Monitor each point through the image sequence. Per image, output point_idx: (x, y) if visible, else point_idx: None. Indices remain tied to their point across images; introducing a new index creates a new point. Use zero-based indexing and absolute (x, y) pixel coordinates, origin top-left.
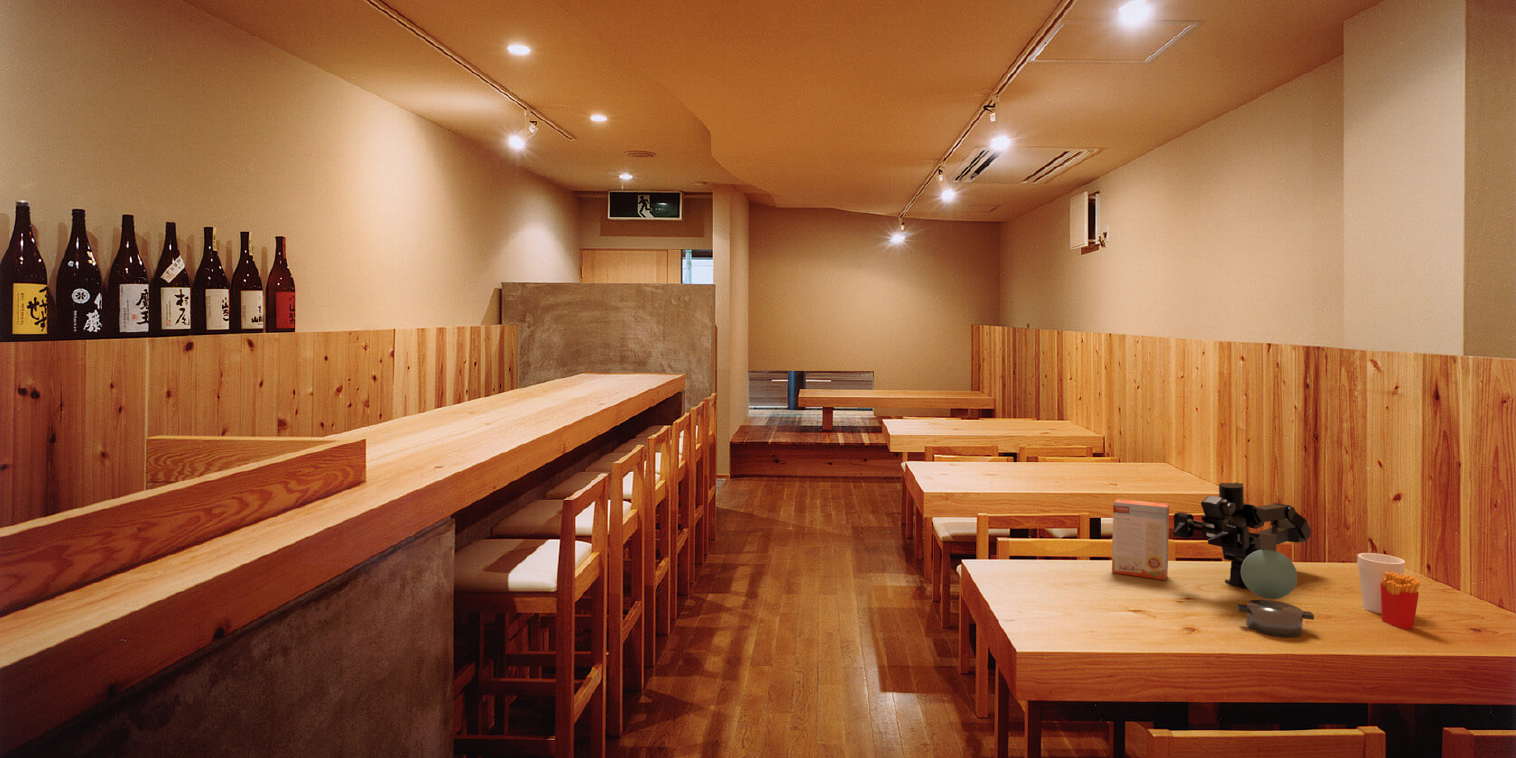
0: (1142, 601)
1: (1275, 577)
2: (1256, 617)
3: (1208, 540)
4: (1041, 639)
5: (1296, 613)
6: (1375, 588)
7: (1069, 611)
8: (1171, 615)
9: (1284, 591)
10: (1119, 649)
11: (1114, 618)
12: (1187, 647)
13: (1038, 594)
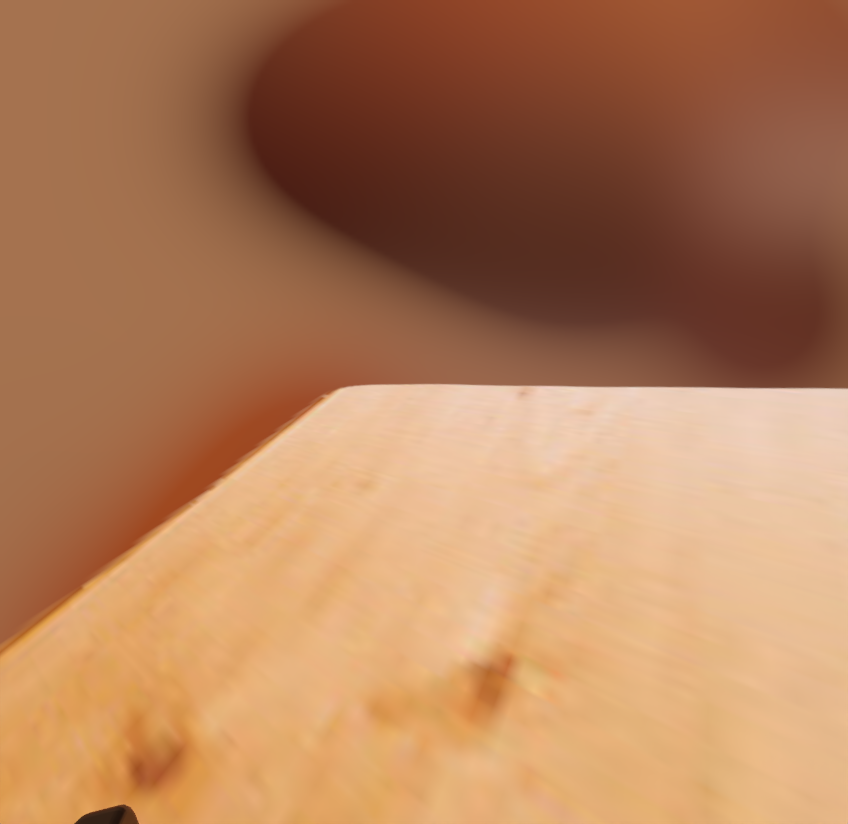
0: (649, 812)
1: None
2: None
3: (116, 813)
4: (378, 409)
5: None
6: None
7: (555, 490)
8: (349, 812)
9: None
10: (224, 491)
11: (434, 568)
12: (73, 633)
13: (778, 471)
